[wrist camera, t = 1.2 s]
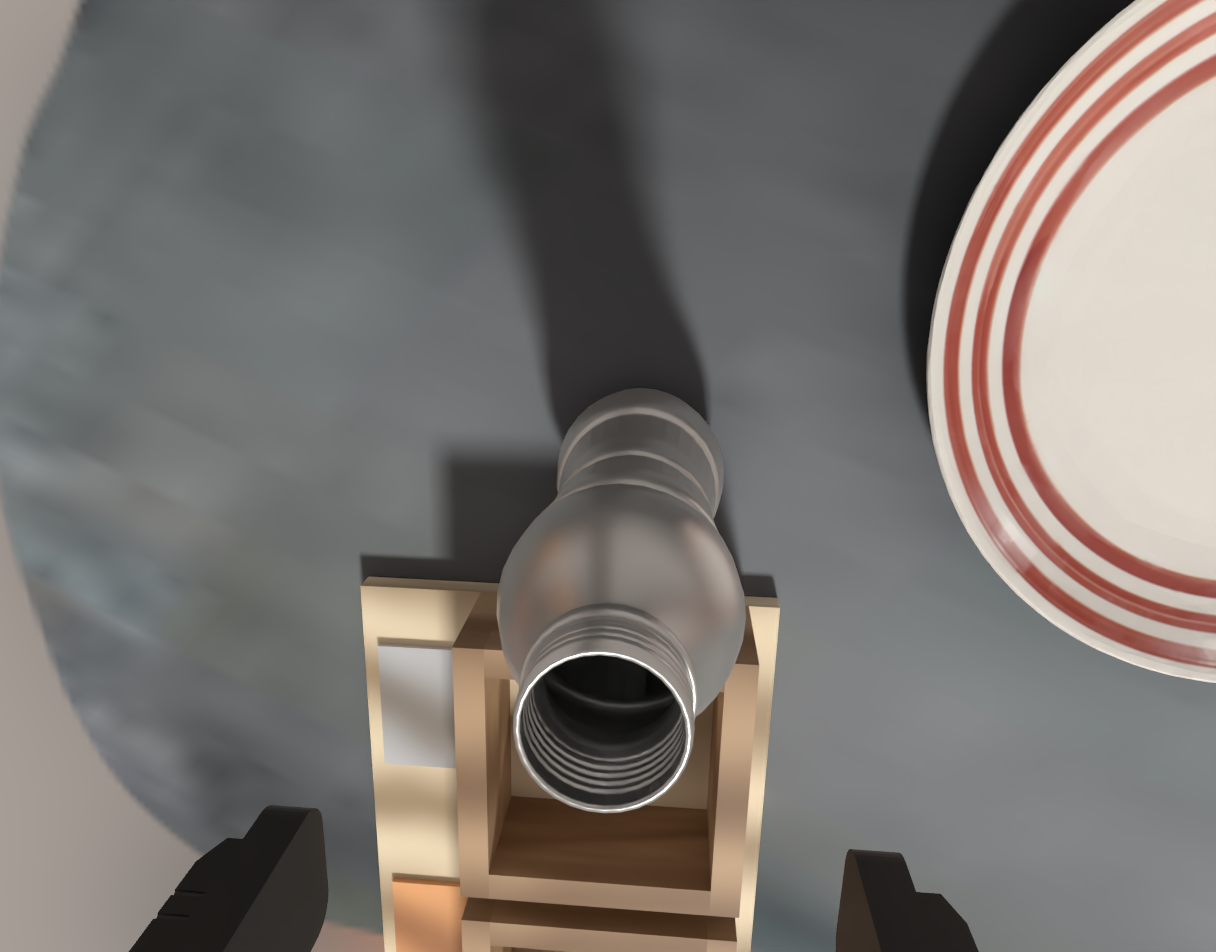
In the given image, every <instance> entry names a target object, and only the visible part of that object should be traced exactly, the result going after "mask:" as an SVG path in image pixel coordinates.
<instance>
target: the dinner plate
mask: <svg viewBox="0 0 1216 952" xmlns="http://www.w3.org/2000/svg"><path fill="white" fill-rule="evenodd" d="M926 381H927V401H928V412H929V419H930V426H931V434H932V441H933V445H934V449H935V453H936V457H937V460H938V464H939V467H940V470H941V473H942V476H943V479H944V481H945V484H946V487H947V490H948V493H949V495H950V498H951V500H952V502H953V504H954V506H955V509H956V511H957V513H958V515H959V517H960V519H961V521H962V522H963V524H964V526H965V528H966V530H967V532H968V533H969V535H970V536H971V538H972V540H973V541H974V543H975V544H976V546H977V547H978V549H979V550H980V552H981V553H982V555H983V556H984V557H985V559H986V560H987V561H988V562H989V564H990V565H991V566H992V568H993V569H994V570H995V571H996V573H997V574H998V575H999V576H1000V577H1001V578H1002V579H1003V580H1004V581H1005V582H1006V583H1007V585H1008V586H1009V587H1010V588H1011V589H1012V590H1013V591H1014V592H1015V593H1016V594H1017V595H1018V596H1019V597H1020V598H1022V599H1023V600H1024V601H1025V602H1026V603H1027V604H1029V605H1030V606H1031V607H1032V608H1033V609H1034V610H1036V611H1037V612H1038V613H1039V614H1041V615H1042V616H1043V617H1045V618H1046V619H1047V620H1049V621H1050V622H1051V623H1053V624H1054V625H1055V626H1057V627H1058V628H1060V629H1061V630H1063V631H1064V632H1066V633H1068V634H1069V635H1071V636H1073V637H1074V638H1076V639H1078V640H1080V641H1082V642H1083V643H1085V644H1087V645H1089V646H1091V647H1093V648H1095V649H1097V650H1099V651H1101V652H1104V653H1106V654H1109V655H1111V656H1113V657H1116V658H1118V659H1121V660H1123V661H1125V662H1128V663H1131V664H1134V665H1137V666H1140V667H1143V668H1146V669H1149V670H1153V671H1156V672H1160V673H1164V674H1167V675H1171V676H1177V677H1182V678H1188V679H1193V680H1199V681H1205V682H1212V683H1216V0H1135V1H1133V2H1132V3H1131V4H1130V5H1128V6H1127V7H1126V8H1125V9H1123V10H1122V11H1121V12H1120V13H1118V14H1117V15H1116V16H1115V17H1114V18H1113V19H1111V20H1110V21H1109V22H1108V23H1107V24H1106V25H1104V26H1103V27H1102V28H1101V29H1100V30H1099V31H1097V32H1096V33H1095V34H1094V35H1093V36H1092V37H1091V38H1090V39H1089V40H1088V41H1087V42H1086V43H1085V44H1084V45H1083V46H1082V47H1081V48H1080V49H1079V50H1078V51H1077V52H1076V53H1075V54H1074V55H1073V56H1072V57H1071V58H1070V59H1069V60H1068V61H1067V62H1066V63H1065V64H1064V65H1063V66H1062V67H1061V68H1060V69H1059V71H1058V72H1057V73H1056V74H1055V75H1054V76H1053V77H1052V78H1051V80H1050V81H1049V82H1048V83H1047V84H1046V85H1045V86H1044V87H1043V89H1042V90H1041V91H1040V92H1039V93H1038V94H1037V96H1036V97H1035V98H1034V99H1033V101H1032V102H1031V103H1030V105H1029V106H1028V107H1027V108H1026V110H1025V111H1024V112H1023V114H1022V115H1021V116H1020V117H1019V119H1018V120H1017V122H1016V123H1015V125H1014V126H1013V128H1012V129H1011V130H1010V132H1009V133H1008V135H1007V136H1006V138H1005V139H1004V141H1003V142H1002V143H1001V145H1000V146H999V148H998V150H997V152H996V153H995V155H994V157H993V159H992V161H991V162H990V164H989V166H988V167H987V169H986V170H985V172H984V175H983V177H982V179H981V181H980V182H979V184H978V185H977V187H976V189H975V191H974V193H973V194H972V196H971V198H970V200H969V203H968V205H967V207H966V209H965V212H964V214H963V216H962V219H961V221H960V224H959V226H958V228H957V231H956V233H955V236H954V238H953V241H952V244H951V247H950V250H949V253H948V255H947V258H946V261H945V264H944V267H943V271H942V274H941V278H940V281H939V285H938V289H937V293H936V298H935V302H934V307H933V313H932V319H931V326H930V334H929V342H928V350H927V370H926Z"/></svg>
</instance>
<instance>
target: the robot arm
mask: <svg viewBox="0 0 1216 952" xmlns="http://www.w3.org/2000/svg"><path fill="white" fill-rule="evenodd" d="M327 903H328V879H327V868H326V856H325V845H324V833H323V822H322V816H321V813H320V811H319V810H318V809H316V808H302V807H289V806H275V805H270V806H267V807H266V808H265V809H264V810H263V811H262V812H261V814H260V815H259V817H258V818H257V820H256V821H255V822H254V824H253V825H252V827H251V828H250V830H249V831H248V832H247V834H246V835H245V837H244V838H243V839H234V838H227V839H225V840H224V841H223V842H221V843H220V844H219V845H217V846H216V847H215V848H213V849H212V850H211V851H209V852H208V853H207V854H205V855H204V856H203V857H201V858H200V859H199V860H197V861H196V862H195V864H194V865H193V866H192V868H191V869H190V870H189V872H188V873H187V874H186V876H185V877H184V878H183V880H182V881H181V882H180V884H179V885H178V886H177V888H176V889H175V893H174V895H171V896H170V897H169V899H168V900H167V901H166V903H165V904H164V905H163V907H162V908H161V909H160V911H159V912H158V916H157V918H156V919H153V920H152V921H151V923H150V924H149V925H148V927H147V928H146V929H145V931H144V932H143V933H142V935H141V936H140V937H139V939H138V941H136V943H135V944H134V946H133V947H132V948H131V950H130V951H129V952H311V950H312V948H313V946H314V944H315V942H316V940H317V938H318V936H319V933H320V931H321V928H322V925H323V922H324V918H325V914H326V909H327ZM836 952H978V949H977V947H976V944H975V942H974V939H973V937H972V934H971V932H970V929H969V927H968V925H967V923H966V922H965V921H964V920H963V918H962V917H961V916H960V915H959V914H958V913H957V912H956V911H955V909H954V908H953V907H952V906H951V905H950V904H949V903H948V902H947V901H946V899H945V898H944V897H943V896H942V895H941V894H934V893H921V892H916V890H915V888H914V885H913V882H912V879H911V876H910V873H909V871H908V868H907V865H906V862H905V860H904V857H903V856H902V854H901V853H895V852H881V851H868V850H854V849H850V850H849V851H848V852H847V855H846V860H845V868H844V876H843V884H842V892H841V899H840V907H839V915H838V923H837V932H836Z"/></svg>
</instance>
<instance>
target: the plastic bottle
mask: <svg viewBox="0 0 1216 952" xmlns="http://www.w3.org/2000/svg"><path fill="white" fill-rule="evenodd" d="M723 480H724V468H723V458H722V454H721V451H720V447H719V444H718V441H717V439H716V437H715V436H714V434H713V432H712V430H711V428H710V427H709V425H708V424H707V423H706V422H705V420H704V419H703V418H702V417H701V415H700V414H699V413H697V412H696V411H695V410H694V409H693V408H691V407H690V406H689V405H688V404H687V403H685V402H684V401H683V400H681V399H679V398H677V397H675V396H673V395H671V394H669V393H666V392H663V391H659V390H656V389H647V388H635V389H626V390H622V391H619V392H616V393H613V394H610V395H608V396H606V397H604V398H602V399H600V400H598V401H597V402H595V403H593V404H592V405H590V406H589V407H588V408H587V409H586V410H585V411H583V412H582V413H581V414H580V415H579V416H578V417H577V419H576V420H575V421H574V423H573V424H572V425H571V427H570V428H569V430H568V432H567V434H566V436H565V438H564V440H563V442H562V445H561V449H560V453H559V457H558V469H557V491H558V495H557V496H556V498H555V500H554V501H553V502H552V503H551V504H550V505H549V506H548V507H547V508H546V509H545V510H544V511H543V512H542V513H541V514H540V515H539V516H537V517H536V518H535V519H534V520H533V522H532V523H531V524H530V526H529V527H528V528H527V529H526V531H525V532H524V533H523V535H522V536H521V537H520V539H519V540H518V542H517V543H516V545H515V546H514V547H513V549H512V551H511V553H510V555H509V558H508V560H507V562H506V564H505V566H504V568H503V571H502V575H501V579H500V583H499V587H498V591H497V621H498V627H499V633H500V639H501V645H502V651H503V654H504V657H505V660H506V662H507V665H508V668H509V670H510V673H511V675H512V676H513V678H514V679H515V681H516V683H517V684H518V686H519V692H518V695H517V699H516V702H515V706H514V712H513V735H514V741H515V747H516V750H517V752H518V755H519V757H520V760H521V762H522V764H523V766H524V767H525V769H526V770H527V772H528V773H529V775H530V776H531V778H532V779H533V780H534V781H535V782H536V783H537V784H538V785H539V786H540V787H541V788H542V789H543V790H545V791H546V792H547V793H549V794H550V795H551V796H553V797H554V798H555V799H557V800H559V801H561V802H563V803H565V804H567V805H569V806H572V807H575V808H578V809H582V810H585V811H590V812H598V813H617V812H625V811H629V810H633V809H637V808H640V807H642V806H644V805H647V804H649V803H651V802H653V801H655V800H656V799H658V798H659V797H660V796H662V795H663V794H665V793H666V792H667V791H668V790H669V789H670V788H671V787H672V786H673V785H674V784H675V783H676V782H677V781H678V779H679V777H680V776H681V774H682V772H683V771H684V769H685V768H686V765H687V762H688V759H689V756H690V754H691V750H692V747H693V740H694V732H695V727H694V721H695V718H696V716H698V715H699V714H700V713H702V712H703V711H704V710H705V709H706V707H707V706H708V705H709V704H710V703H711V702H712V701H713V700H714V699H715V698H716V697H717V695H718V694H719V692H720V690H721V689H722V687H723V685H724V684H725V682H726V680H727V679H728V677H729V675H730V673H731V671H732V669H733V667H734V665H735V662H736V660H737V657H738V654H739V651H740V648H741V645H742V643H743V637H744V630H745V622H746V611H745V599H744V592H743V589H742V585H741V582H740V578H739V575H738V572H737V569H736V566H735V563H734V560H733V557H732V555H731V553H730V551H729V550H728V548H727V546H726V544H725V542H724V540H723V538H722V537H721V535H720V534H719V532H718V530H717V528H716V526H715V523H714V517H715V515H716V511H717V508H718V505H719V502H720V498H721V494H722V489H723Z"/></svg>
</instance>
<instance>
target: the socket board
mask: <svg viewBox="0 0 1216 952" xmlns="http://www.w3.org/2000/svg"><path fill="white" fill-rule="evenodd" d="M498 587H499V583H482V582H463V581H444V580H425V579H406V578H386V577H368V578H367V579H366V580H365V581H364V582H363V583H362V585H361V601H362V616H363V631H364V646H365V661H366V676H367V691H368V706H369V721H370V736H371V751H372V766H373V781H374V796H375V811H376V826H377V841H378V856H379V871H380V886H381V901H382V916H383V931H384V944H385V945H384V946H385V952H750V949H751V937H752V925H753V914H754V902H755V891H756V879H757V868H758V856H759V845H760V833H761V821H762V810H763V798H764V787H765V775H766V764H767V752H768V741H769V729H770V717H771V706H772V694H773V683H774V671H775V660H776V648H777V637H778V625H779V613H780V606H779V602H778V598H771V597H752V596H744V599H745V611H746V622H745V630H744V637H743V643H742V645H741V648H740V651H739V654H738V657H737V660H736V662H735V665H734V667H733V669H732V671H731V673H730V675H729V677H728V679H727V680H726V682H725V684H724V685H723V687H722V689H721V690H720V692H719V694H718V695H717V697H716V698H715V699H714V700H713V701H712V702H711V703H710V704H709V705H708V706H707V707H706V709H705V710H704V711H703V712H702V713H700V714H699V715H698V716H696V718H695V721H694V727H695V732H694V740H693V747H692V750H691V754H690V756H689V759H688V762H687V765H686V768H685V769H684V771H683V772H682V774H681V776H680V777H679V779H678V781H677V782H676V783H675V784H674V785H673V786H672V787H671V788H670V789H669V790H668V791H667V792H666V793H665V794H663V795H662V796H660V797H659V798H658V799H656V800H655V801H653V802H651V803H649V804H647V805H644V806H642V807H640V808H637V809H633V810H629V811H625V812H617V813H598V812H590V811H585V810H582V809H578V808H575V807H572V806H569V805H567V804H565V803H563V802H561V801H559V800H557V799H555V798H554V797H553V796H551V795H550V794H549V793H547V792H546V791H545V790H543V789H542V788H541V787H540V786H539V785H538V784H537V783H536V782H535V781H534V780H533V779H532V778H531V776H530V775H529V773H528V772H527V770H526V769H525V767H524V766H523V764H522V762H521V760H520V757H519V755H518V752H517V750H516V747H515V741H514V735H513V712H514V706H515V702H516V699H517V695H518V692H519V686H518V684H517V683H516V681H515V679H514V678H513V676H512V675H511V673H510V670H509V668H508V665H507V662H506V660H505V657H504V654H503V651H502V645H501V639H500V633H499V627H498V621H497V591H498Z"/></svg>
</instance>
